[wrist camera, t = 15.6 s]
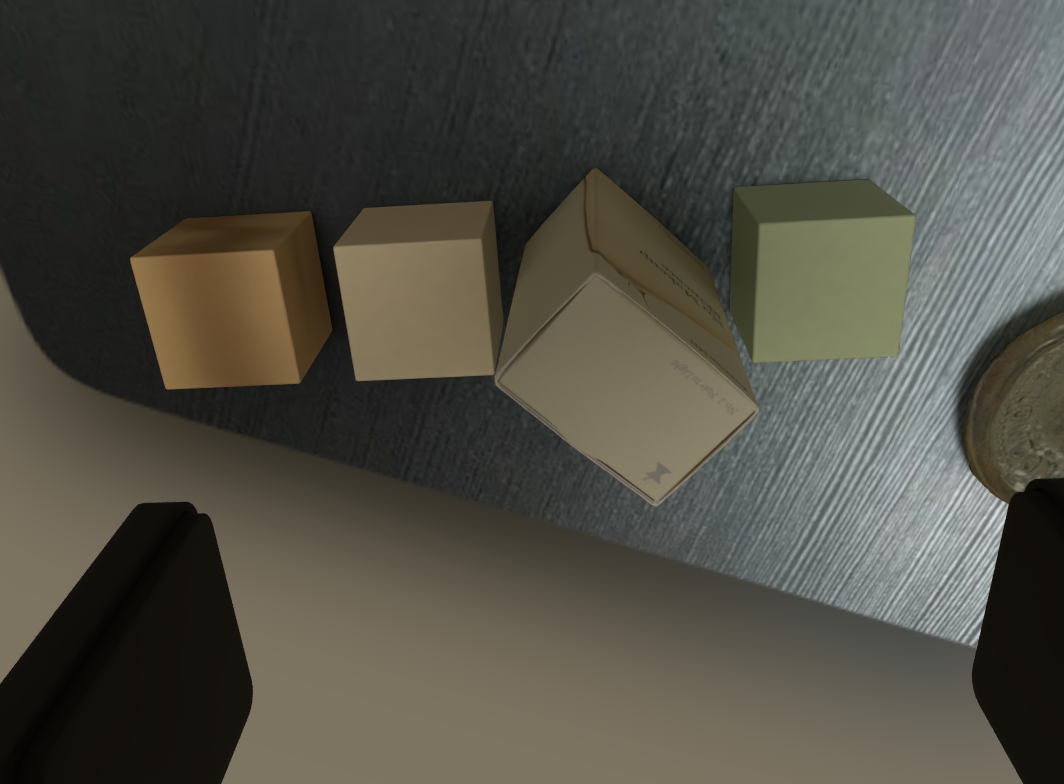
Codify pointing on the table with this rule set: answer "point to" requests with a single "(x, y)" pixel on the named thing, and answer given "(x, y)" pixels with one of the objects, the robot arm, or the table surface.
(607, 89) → the table surface
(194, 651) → the robot arm
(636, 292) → the cosmetic box
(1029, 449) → the lid
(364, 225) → the block
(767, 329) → the block
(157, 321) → the block
